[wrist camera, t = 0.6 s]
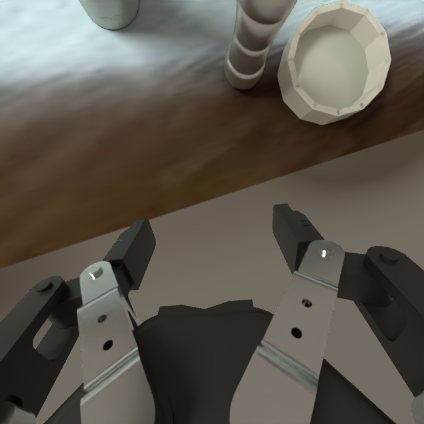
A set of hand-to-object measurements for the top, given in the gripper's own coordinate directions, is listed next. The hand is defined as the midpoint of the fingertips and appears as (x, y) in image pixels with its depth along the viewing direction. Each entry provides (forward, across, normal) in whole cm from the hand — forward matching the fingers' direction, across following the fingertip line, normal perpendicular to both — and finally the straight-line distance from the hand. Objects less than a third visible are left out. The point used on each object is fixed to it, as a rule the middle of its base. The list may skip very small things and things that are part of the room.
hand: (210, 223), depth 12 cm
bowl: (+32, -22, -8) cm, 40 cm away
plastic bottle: (+32, -6, -10) cm, 34 cm away
